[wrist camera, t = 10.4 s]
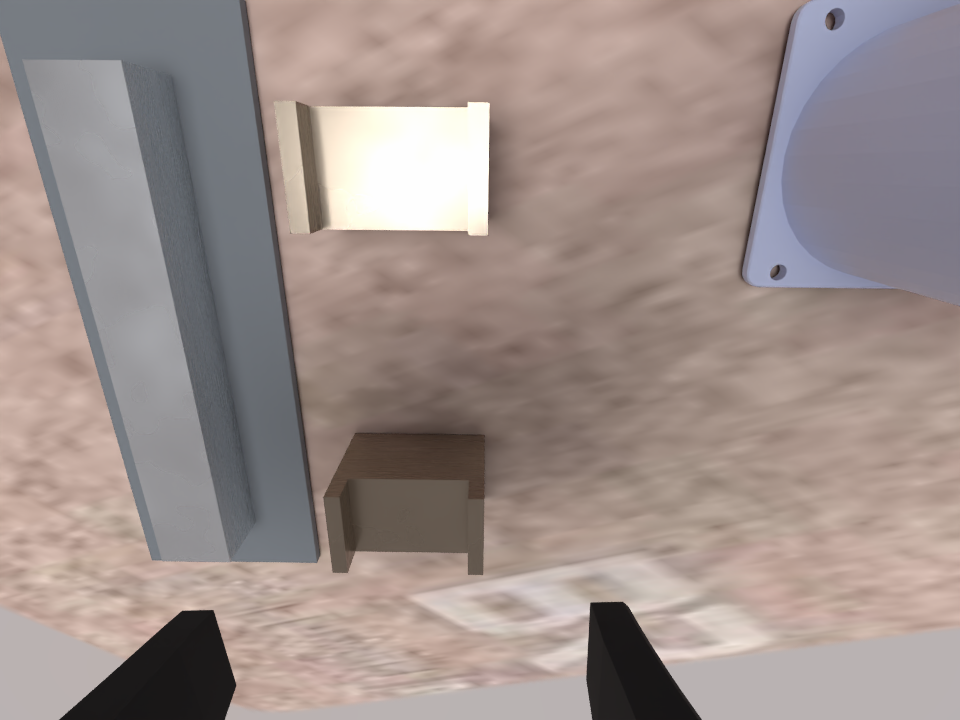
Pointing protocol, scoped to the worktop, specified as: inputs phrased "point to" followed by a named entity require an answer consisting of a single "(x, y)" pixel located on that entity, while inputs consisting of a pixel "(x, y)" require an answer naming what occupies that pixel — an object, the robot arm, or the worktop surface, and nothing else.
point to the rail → (149, 294)
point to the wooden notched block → (385, 167)
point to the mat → (224, 224)
